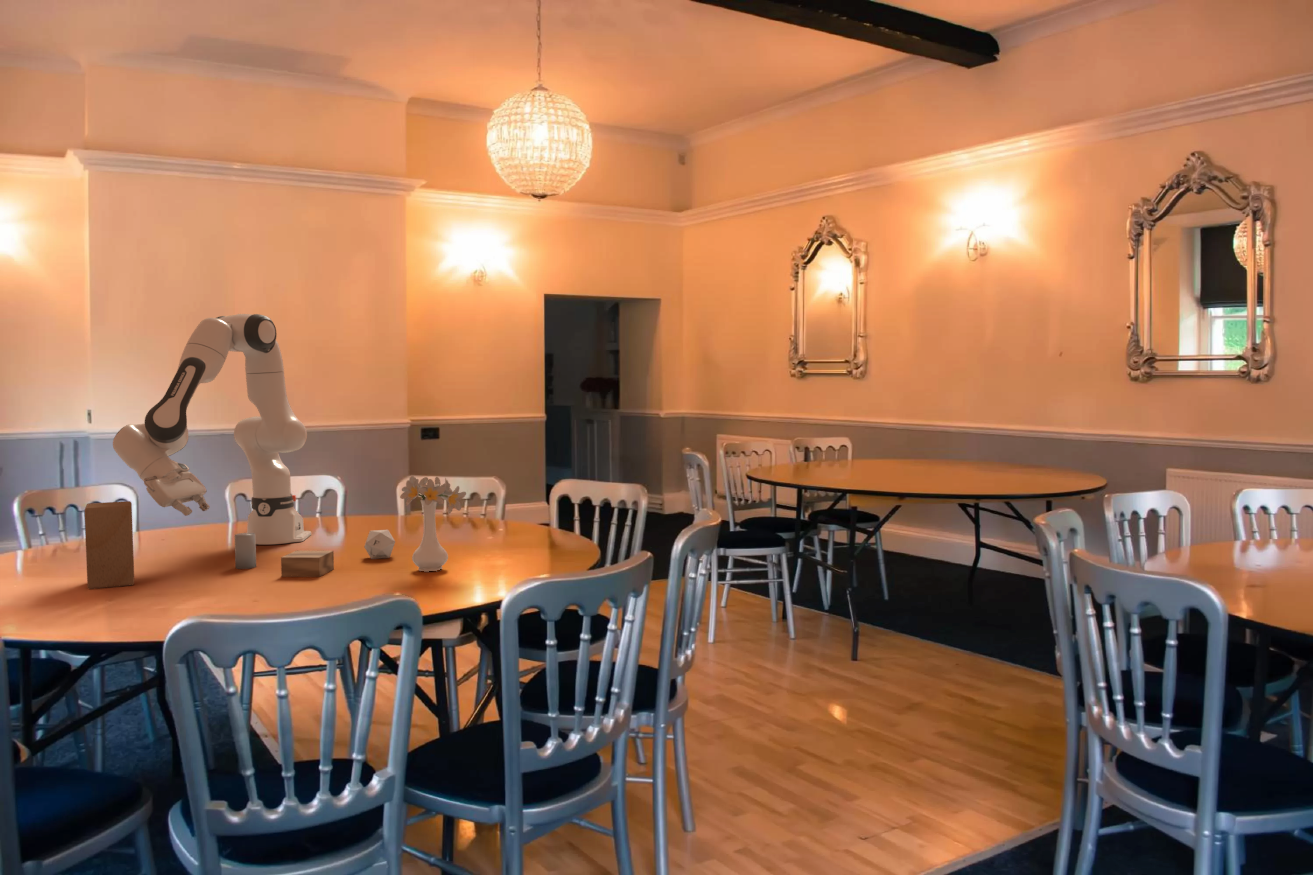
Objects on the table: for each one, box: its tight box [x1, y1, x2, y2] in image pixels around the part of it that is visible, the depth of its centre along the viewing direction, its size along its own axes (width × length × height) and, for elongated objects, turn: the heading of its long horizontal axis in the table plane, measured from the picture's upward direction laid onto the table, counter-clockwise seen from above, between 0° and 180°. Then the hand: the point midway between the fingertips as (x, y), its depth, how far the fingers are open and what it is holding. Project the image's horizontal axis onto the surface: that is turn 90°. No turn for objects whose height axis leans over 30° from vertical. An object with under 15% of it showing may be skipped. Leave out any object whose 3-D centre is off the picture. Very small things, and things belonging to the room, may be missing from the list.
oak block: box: [280, 549, 335, 578], centre depth 259 cm, size 10×10×5 cm
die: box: [364, 529, 396, 560], centre depth 280 cm, size 8×9×10 cm
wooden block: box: [84, 500, 135, 590], centre depth 245 cm, size 10×10×20 cm
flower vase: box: [399, 475, 467, 573], centre depth 262 cm, size 13×18×25 cm
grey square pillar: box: [234, 532, 257, 570], centre depth 267 cm, size 5×5×9 cm
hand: (198, 511), depth 266 cm, fingers open, 8 cm apart
